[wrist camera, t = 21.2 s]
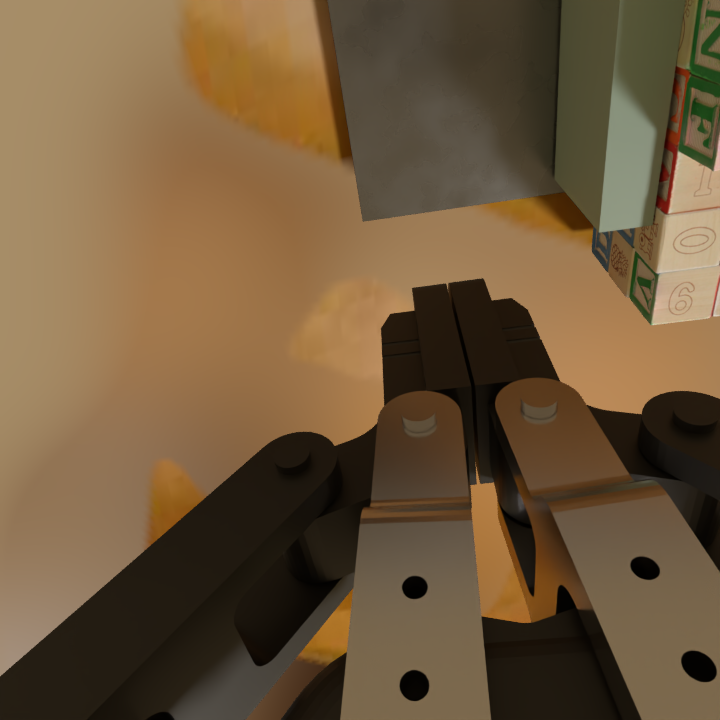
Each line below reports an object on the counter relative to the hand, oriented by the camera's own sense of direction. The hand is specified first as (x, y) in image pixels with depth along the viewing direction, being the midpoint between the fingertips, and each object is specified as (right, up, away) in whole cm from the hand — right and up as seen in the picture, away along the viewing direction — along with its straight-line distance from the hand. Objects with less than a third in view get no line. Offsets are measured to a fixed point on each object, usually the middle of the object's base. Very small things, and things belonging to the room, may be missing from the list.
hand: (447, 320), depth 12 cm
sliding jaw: (+10, +15, +18) cm, 26 cm away
